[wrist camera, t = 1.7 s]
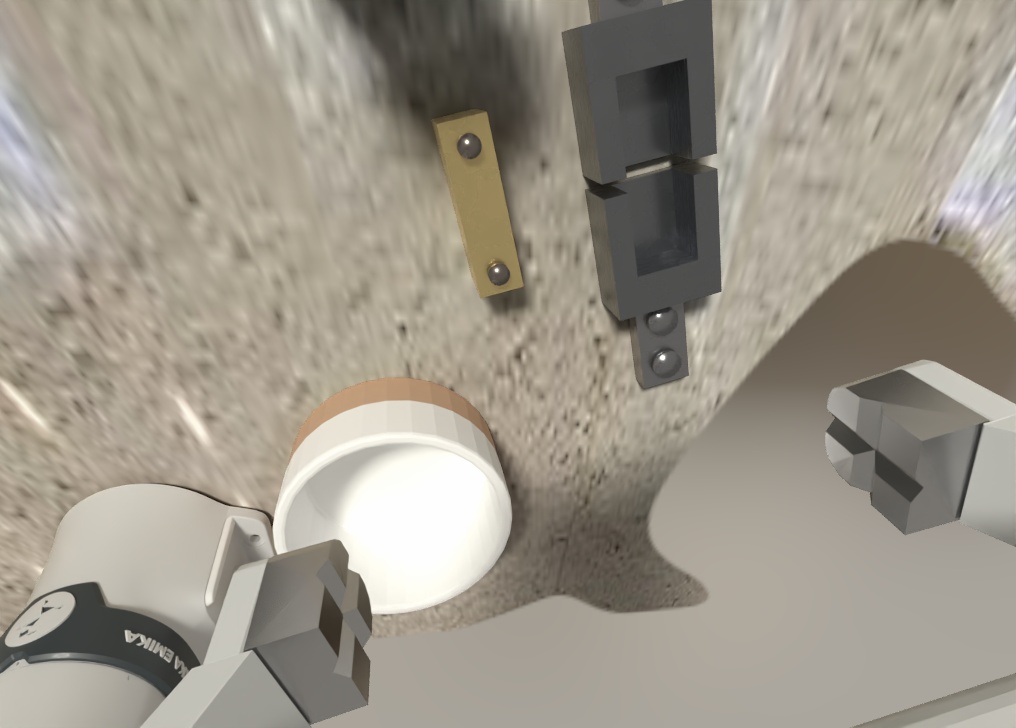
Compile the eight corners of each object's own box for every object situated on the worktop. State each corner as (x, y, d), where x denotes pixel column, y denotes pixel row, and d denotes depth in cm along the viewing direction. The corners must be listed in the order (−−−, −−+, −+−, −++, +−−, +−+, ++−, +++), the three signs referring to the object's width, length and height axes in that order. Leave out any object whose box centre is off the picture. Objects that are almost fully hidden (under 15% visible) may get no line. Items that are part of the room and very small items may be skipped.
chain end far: (700, 359, 49) (724, 381, 45) (614, 385, 48) (632, 409, 45) (688, 161, 40) (717, 168, 37) (585, 189, 40) (603, 199, 36)
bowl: (382, 334, 42) (381, 387, 35) (533, 448, 50) (558, 511, 42) (246, 480, 46) (219, 556, 38) (407, 566, 53) (410, 643, 46)
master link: (509, 265, 42) (526, 290, 37) (471, 275, 41) (482, 302, 36) (475, 108, 36) (488, 112, 31) (431, 119, 36) (437, 125, 31)
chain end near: (537, -129, 31) (556, -156, 28) (670, -160, 32) (705, -190, 28) (583, 175, 39) (601, 184, 36) (687, 147, 40) (716, 153, 36)
